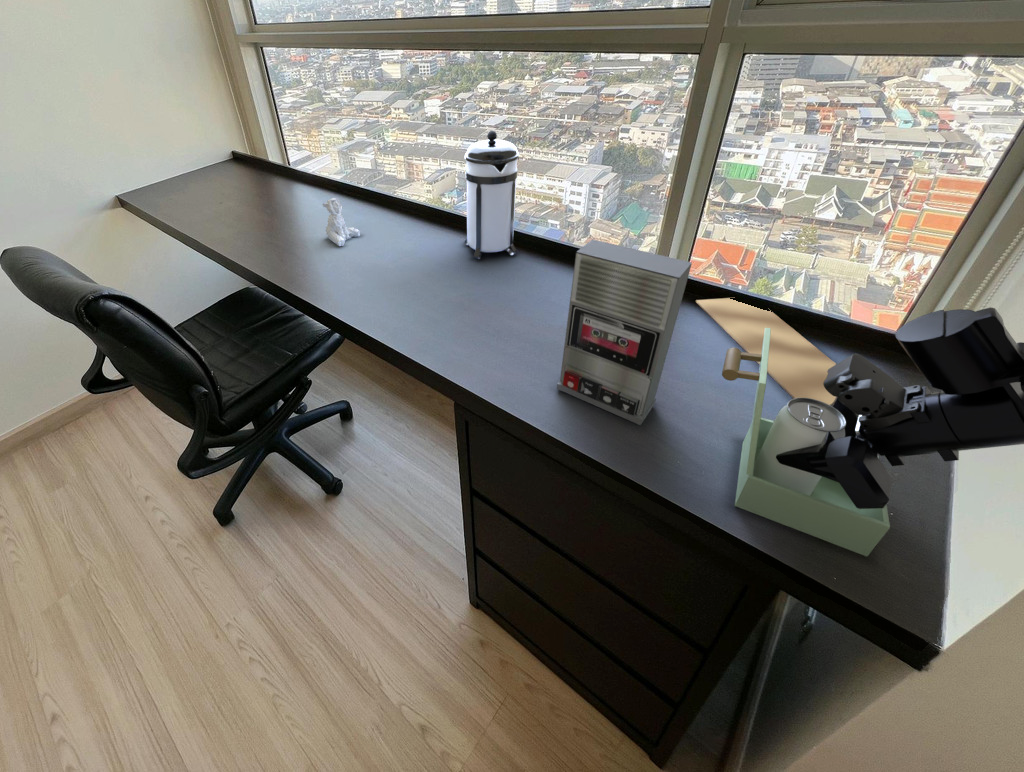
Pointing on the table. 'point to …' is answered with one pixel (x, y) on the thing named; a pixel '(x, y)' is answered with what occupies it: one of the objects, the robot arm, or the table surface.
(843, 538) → the chest
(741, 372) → the chest lid
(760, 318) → the tan flat long board
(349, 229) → the sitting furry creature
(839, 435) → the can
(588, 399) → the cassette tape recorder
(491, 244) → the coffee press
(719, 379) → the table surface
